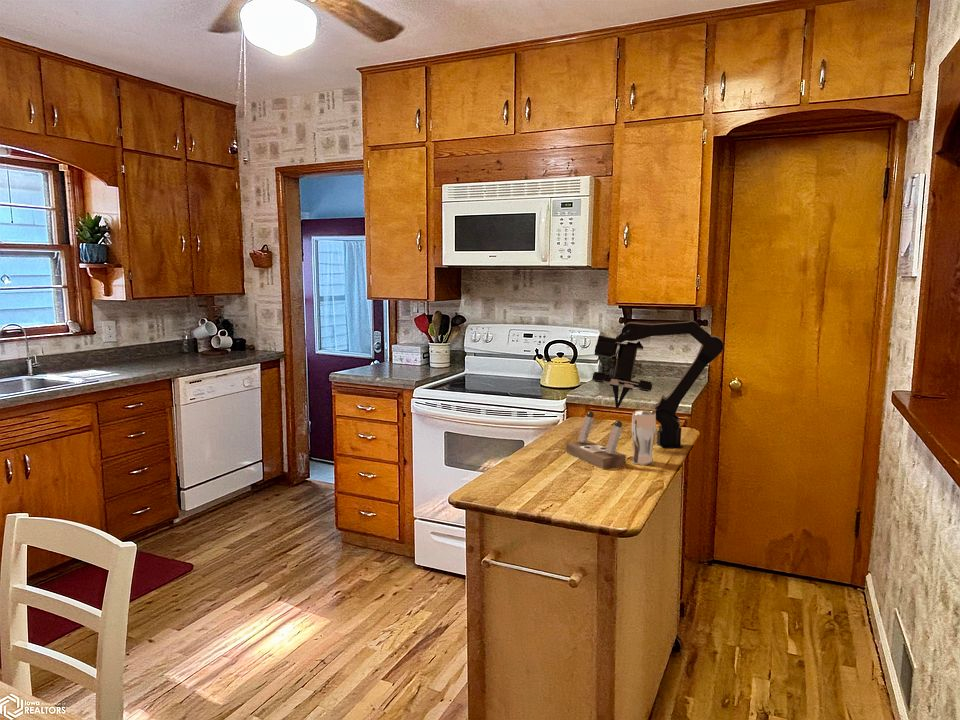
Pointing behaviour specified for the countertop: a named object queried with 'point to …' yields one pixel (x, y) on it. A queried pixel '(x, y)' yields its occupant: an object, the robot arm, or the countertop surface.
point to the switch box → (595, 454)
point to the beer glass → (643, 436)
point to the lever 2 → (614, 437)
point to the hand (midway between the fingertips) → (616, 408)
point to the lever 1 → (586, 427)
